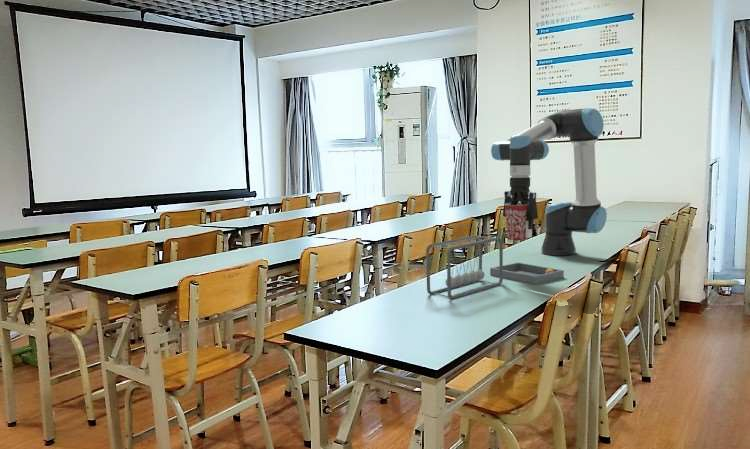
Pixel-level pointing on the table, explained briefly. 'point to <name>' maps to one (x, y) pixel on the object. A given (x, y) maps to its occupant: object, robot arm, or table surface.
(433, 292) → the newton's cradle
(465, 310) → the table surface
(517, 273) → the tray
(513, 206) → the mug
